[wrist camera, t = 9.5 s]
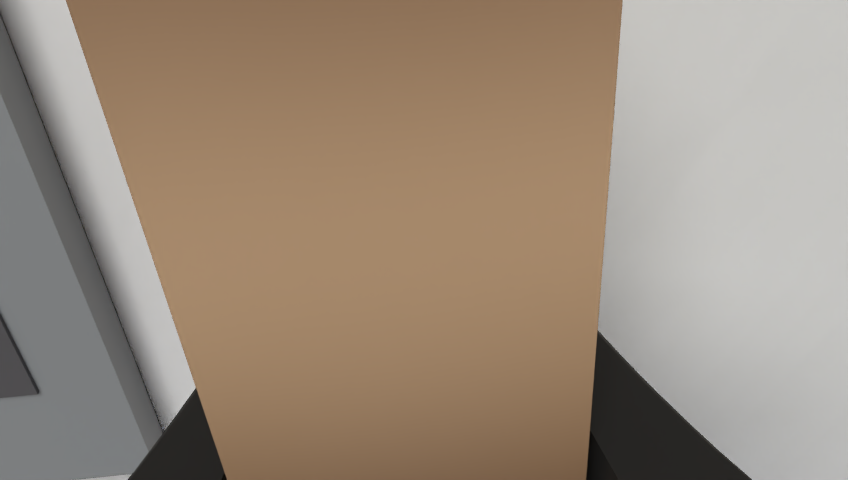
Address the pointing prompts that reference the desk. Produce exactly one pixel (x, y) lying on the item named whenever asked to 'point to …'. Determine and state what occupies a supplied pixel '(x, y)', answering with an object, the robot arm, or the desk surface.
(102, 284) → the switch board
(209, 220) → the pusher bar
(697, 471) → the robot arm
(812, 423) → the desk surface
